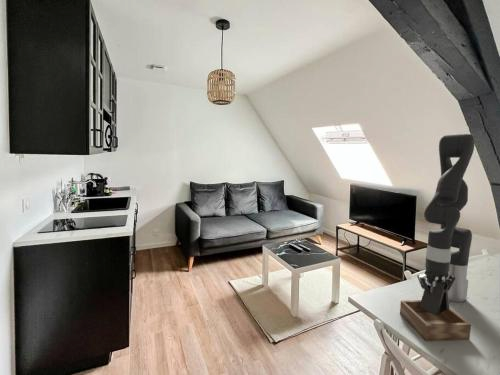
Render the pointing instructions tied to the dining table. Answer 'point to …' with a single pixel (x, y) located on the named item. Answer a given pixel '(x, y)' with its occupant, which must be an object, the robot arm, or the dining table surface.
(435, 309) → the door stopper
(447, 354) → the dining table surface
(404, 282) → the dining table surface
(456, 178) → the robot arm
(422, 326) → the walnut box
